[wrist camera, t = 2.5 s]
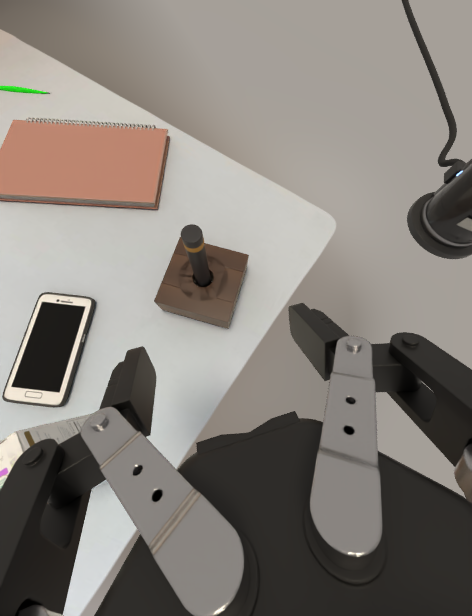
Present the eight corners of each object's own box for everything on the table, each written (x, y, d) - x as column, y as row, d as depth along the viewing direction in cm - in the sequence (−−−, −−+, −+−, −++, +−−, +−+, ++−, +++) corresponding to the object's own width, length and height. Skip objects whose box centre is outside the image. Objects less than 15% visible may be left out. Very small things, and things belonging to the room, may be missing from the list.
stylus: (201, 280, 36) (184, 221, 23) (214, 283, 36) (205, 227, 22) (197, 292, 35) (177, 239, 22) (210, 296, 35) (198, 245, 22)
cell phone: (6, 400, 30) (-1, 401, 30) (45, 293, 35) (40, 290, 34) (66, 407, 30) (60, 408, 29) (98, 299, 35) (94, 297, 34)
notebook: (170, 134, 44) (168, 123, 42) (157, 210, 39) (154, 201, 37) (23, 125, 44) (13, 113, 42) (-9, 200, 39) (-21, 191, 37)
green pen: (-16, 86, 47) (-20, 81, 46) (54, 94, 47) (51, 89, 46) (-18, 89, 47) (-22, 85, 46) (52, 97, 47) (49, 92, 46)
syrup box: (92, 480, 28) (-41, 577, 14) (69, 436, 30) (-72, 486, 16) (134, 447, 29) (48, 509, 16) (111, 406, 31) (12, 429, 17)
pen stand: (185, 251, 37) (180, 236, 34) (246, 267, 37) (248, 254, 33) (162, 310, 35) (153, 301, 31) (228, 328, 34) (228, 322, 30)
